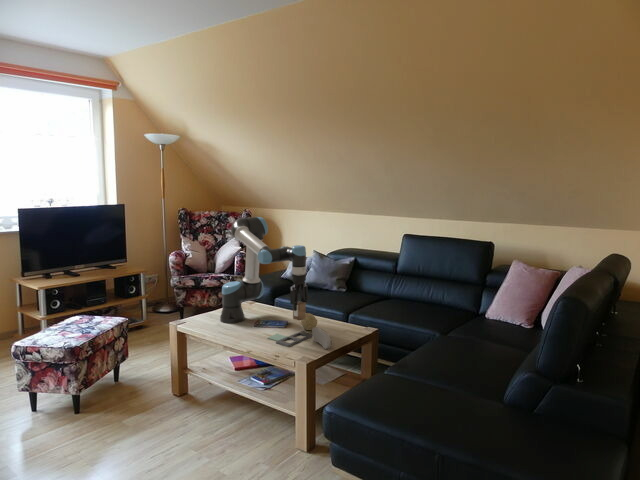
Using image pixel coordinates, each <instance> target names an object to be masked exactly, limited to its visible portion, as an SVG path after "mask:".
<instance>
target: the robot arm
mask: <svg viewBox="0 0 640 480" xmlns="http://www.w3.org/2000/svg"><path fill="white" fill-rule="evenodd" d="M268 231H269V227H268V223H267V221H266V220H265V218H263V217H262V216H253V217H240V218H237V219H236V220H234V221H233V222H232V224H231V228H230V232H231V235H232V237H233V239H236V240H237V241H240V242H241V243H243V244H244V245H245V246H246V248H245V249H246V253H245V254H246V255H245V267H244V269H245V270H244V277H242V281H241V282H240V281H239V280H238V281H237V280H235V281H229V282H225V284H224V283H223V285H222V287H221V297H222V301H221V302H222V309H221V313H220V316H219V321H220V322H221V323H227V324H233V323H234V324H235V323H239V322H240V323H241V322H243V321H245V317H246V315H245V314H244V311H243V306H242V303H243V302H248V301H253V300H257V299H260V298H261V297H262V296H263V295H264V291H265V286H264V283H263V281H262V280H261V278H260V277H259V275H260V264H261V265H268V264H273V263H274V264H275V263H281V262H291V263H292V264H291V274H292V276H291V279H292V282H293V283H292V286H289V292H290V293H289V295H290V296H289V297H290V298H289V299H290V300H289V301H290V304H291V305H292V311H293V310H294V316H297V317H298V305H297V303H298V301H299V296H300V302H304V303H307V302H308V300H309V291H308V290H309V289H308V287H309V283H308V282H306V281H307V274H306V273H307V269H306V268H307V252H306V250H307V249H306V246H305V245H297V244H296V245H293V246H292V247H290V246H281V247H280V248H279V247H278V248H271V247H269V245H267V244H266V243H265V242H263V241H264V236H266V235H267V234H268Z"/></svg>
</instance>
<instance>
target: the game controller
mask: <svg viewBox="0 0 640 480" xmlns="http://www.w3.org/2000/svg"><path fill="white" fill-rule="evenodd" d="M311 333H312V340H313V342H315V343H318V344H320V345H321V346H322V348H323V349H324V348H325V349H324V350H328V349H330V348H331V344H332V341H331V337H330V335H329V334H328V332H326V331H324V330H323V329H321V328H320V327H319V326H316V327H314V328H313V329H312V330H311Z"/></svg>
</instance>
